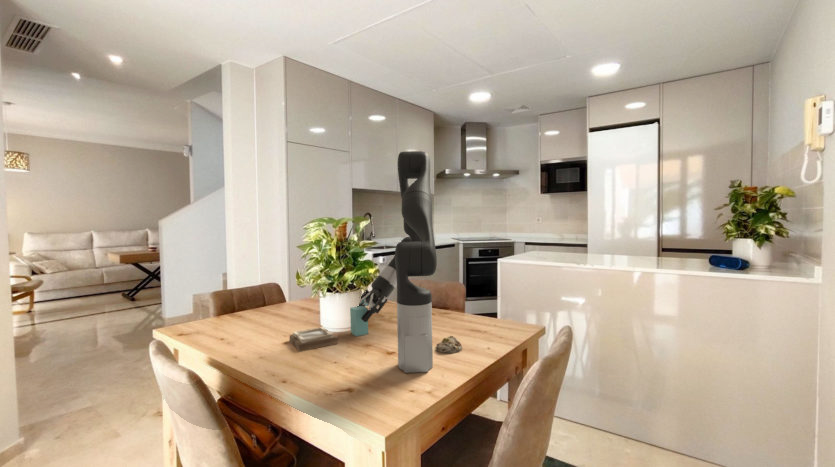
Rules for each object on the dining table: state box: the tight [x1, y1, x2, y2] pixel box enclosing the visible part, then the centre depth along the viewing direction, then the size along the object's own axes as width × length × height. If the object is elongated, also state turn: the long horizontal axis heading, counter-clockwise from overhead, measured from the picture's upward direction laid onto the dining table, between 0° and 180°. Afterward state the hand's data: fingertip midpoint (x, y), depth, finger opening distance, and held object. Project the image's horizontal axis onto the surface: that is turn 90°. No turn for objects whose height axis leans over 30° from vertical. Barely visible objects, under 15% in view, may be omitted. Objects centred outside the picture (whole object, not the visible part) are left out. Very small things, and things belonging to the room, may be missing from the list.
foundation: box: [289, 326, 339, 352], centre depth 122 cm, size 12×12×3 cm
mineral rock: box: [435, 335, 463, 354], centre depth 115 cm, size 11×4×8 cm
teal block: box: [349, 306, 369, 337], centre depth 131 cm, size 4×4×9 cm
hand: (358, 318), depth 130 cm, fingers open, 8 cm apart
